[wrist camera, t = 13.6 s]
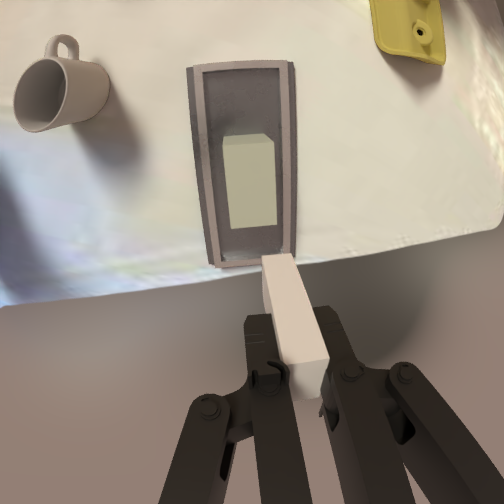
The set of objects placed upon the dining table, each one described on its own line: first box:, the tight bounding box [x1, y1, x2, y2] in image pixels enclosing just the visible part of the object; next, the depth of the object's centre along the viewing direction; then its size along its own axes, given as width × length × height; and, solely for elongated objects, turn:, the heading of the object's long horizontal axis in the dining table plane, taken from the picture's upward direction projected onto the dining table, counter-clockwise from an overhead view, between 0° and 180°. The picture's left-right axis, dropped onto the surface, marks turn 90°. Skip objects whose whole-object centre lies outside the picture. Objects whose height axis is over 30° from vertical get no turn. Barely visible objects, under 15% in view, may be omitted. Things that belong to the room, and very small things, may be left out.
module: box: [222, 133, 277, 229], centre depth 31 cm, size 5×9×8 cm, turn 4°
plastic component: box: [369, 0, 446, 65], centre depth 21 cm, size 20×7×10 cm
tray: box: [186, 60, 296, 268], centre depth 34 cm, size 13×28×2 cm, turn 3°
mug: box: [13, 34, 110, 132], centre depth 21 cm, size 12×8×11 cm
